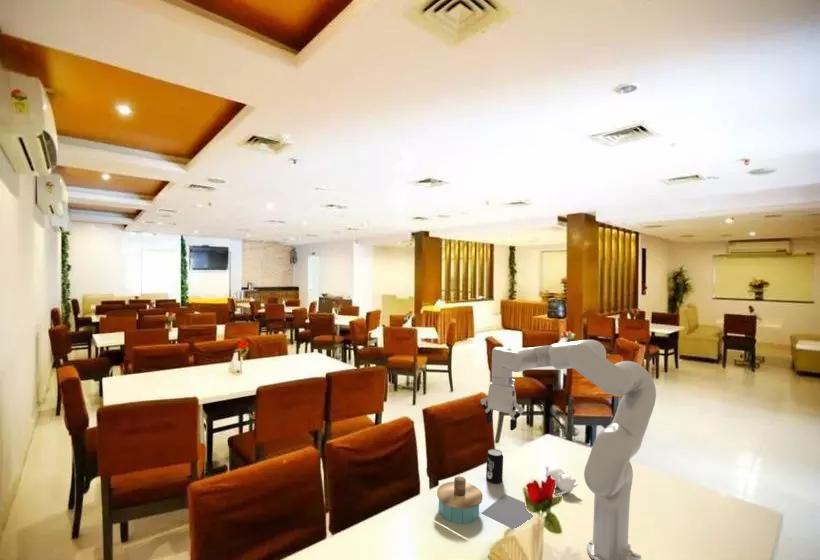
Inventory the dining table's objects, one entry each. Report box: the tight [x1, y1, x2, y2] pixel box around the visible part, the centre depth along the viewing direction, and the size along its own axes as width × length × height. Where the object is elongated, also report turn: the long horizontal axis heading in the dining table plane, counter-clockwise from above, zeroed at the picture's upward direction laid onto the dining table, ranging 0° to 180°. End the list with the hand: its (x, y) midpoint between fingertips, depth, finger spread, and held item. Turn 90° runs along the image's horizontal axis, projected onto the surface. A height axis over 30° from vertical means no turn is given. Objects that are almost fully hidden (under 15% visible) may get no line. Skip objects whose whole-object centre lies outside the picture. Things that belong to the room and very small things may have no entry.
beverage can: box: [485, 448, 504, 485], centre depth 164 cm, size 7×7×12 cm
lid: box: [436, 476, 483, 509], centre depth 142 cm, size 16×16×6 cm
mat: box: [481, 493, 533, 529], centre depth 142 cm, size 17×17×1 cm
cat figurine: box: [545, 465, 579, 496], centre depth 159 cm, size 9×11×12 cm
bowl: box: [438, 499, 480, 525], centre depth 142 cm, size 14×14×6 cm
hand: (501, 426), depth 150 cm, fingers open, 9 cm apart
